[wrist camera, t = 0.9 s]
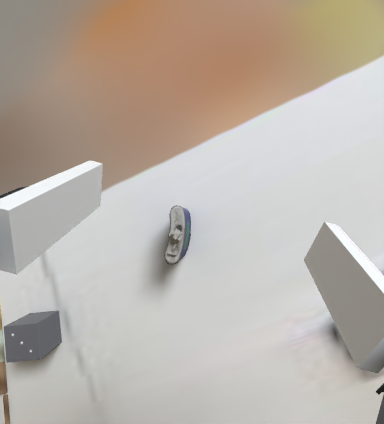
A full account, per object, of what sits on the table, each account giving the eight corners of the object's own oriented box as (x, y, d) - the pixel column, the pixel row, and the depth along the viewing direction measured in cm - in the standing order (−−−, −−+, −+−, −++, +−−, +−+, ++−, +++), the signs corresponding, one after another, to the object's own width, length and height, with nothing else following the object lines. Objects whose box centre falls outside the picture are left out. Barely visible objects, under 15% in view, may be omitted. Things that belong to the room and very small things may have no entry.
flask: (178, 207, 45) (168, 203, 35) (193, 209, 45) (188, 205, 35) (172, 256, 45) (161, 267, 34) (188, 258, 45) (181, 269, 34)
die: (62, 341, 46) (39, 359, 40) (32, 344, 47) (6, 362, 41) (59, 310, 47) (36, 323, 40) (29, 313, 47) (3, 326, 41)
